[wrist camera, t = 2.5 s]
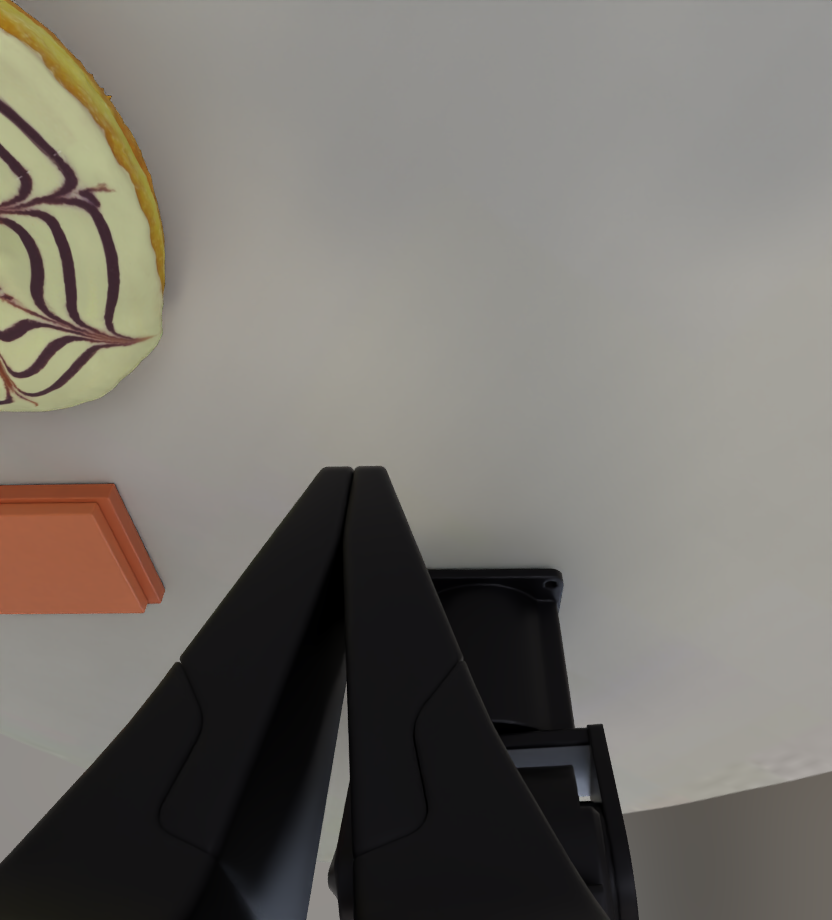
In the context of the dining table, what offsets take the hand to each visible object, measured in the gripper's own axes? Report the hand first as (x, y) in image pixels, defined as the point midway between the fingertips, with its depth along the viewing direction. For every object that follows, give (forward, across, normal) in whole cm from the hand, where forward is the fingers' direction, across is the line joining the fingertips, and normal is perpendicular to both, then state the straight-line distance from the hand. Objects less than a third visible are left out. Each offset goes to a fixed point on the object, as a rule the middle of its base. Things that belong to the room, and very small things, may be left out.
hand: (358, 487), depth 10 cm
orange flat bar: (+11, +18, +14) cm, 25 cm away
